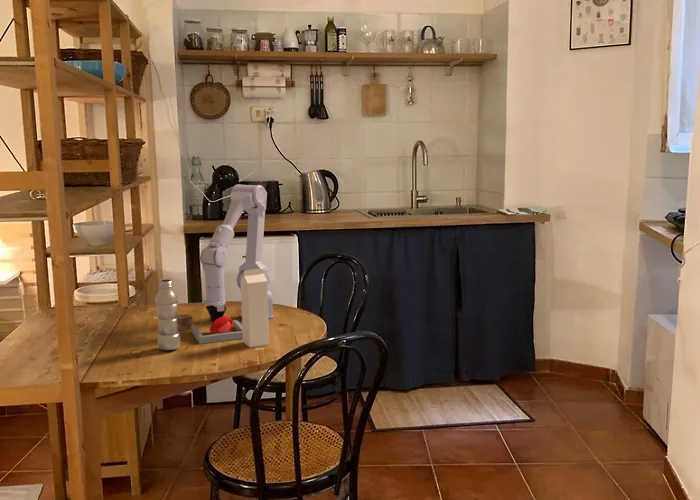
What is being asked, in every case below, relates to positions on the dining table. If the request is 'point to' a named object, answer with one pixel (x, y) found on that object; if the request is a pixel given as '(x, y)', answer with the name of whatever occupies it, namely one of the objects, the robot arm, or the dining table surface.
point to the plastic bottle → (167, 316)
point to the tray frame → (218, 337)
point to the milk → (255, 308)
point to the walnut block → (184, 322)
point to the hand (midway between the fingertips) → (217, 328)
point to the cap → (222, 325)
